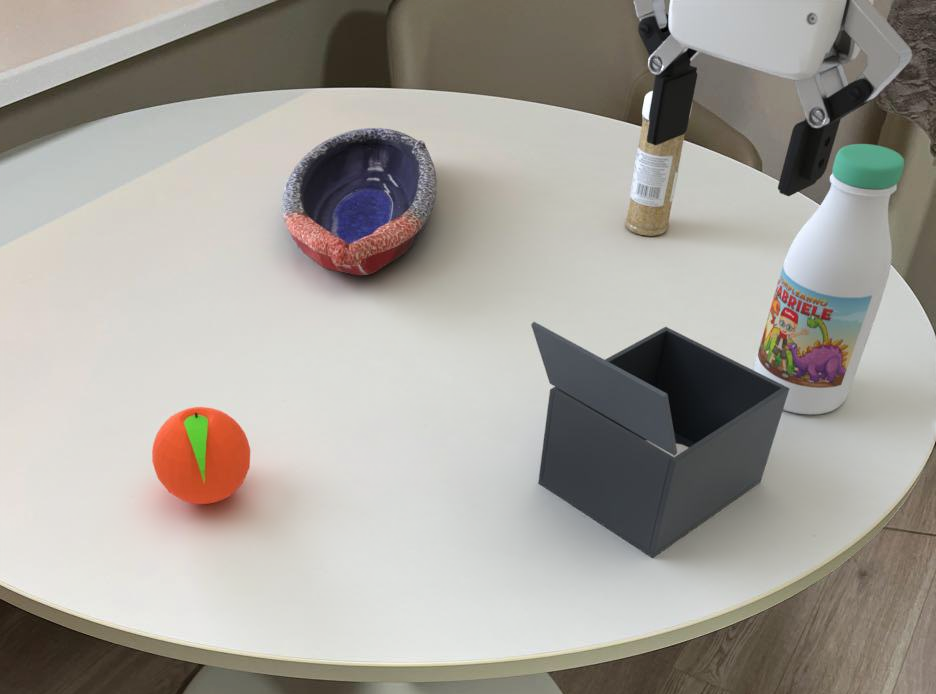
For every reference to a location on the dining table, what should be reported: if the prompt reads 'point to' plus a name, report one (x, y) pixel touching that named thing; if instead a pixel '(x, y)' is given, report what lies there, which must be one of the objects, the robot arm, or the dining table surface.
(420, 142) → the dish
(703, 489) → the bin
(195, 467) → the clementine
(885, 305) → the dining table surface
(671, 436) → the flap
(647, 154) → the sprinkles bottle
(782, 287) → the milk bottle
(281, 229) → the dining table surface
